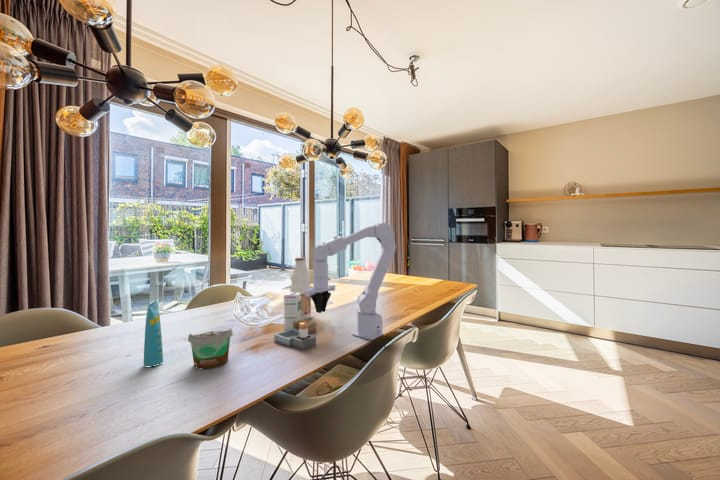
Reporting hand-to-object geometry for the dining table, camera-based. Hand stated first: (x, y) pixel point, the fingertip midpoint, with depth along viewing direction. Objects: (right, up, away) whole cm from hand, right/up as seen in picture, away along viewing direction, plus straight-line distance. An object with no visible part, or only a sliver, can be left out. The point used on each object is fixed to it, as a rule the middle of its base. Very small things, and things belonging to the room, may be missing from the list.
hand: (320, 311), depth 114 cm
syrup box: (-13, -9, +10) cm, 19 cm away
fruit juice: (-13, -9, +25) cm, 29 cm away
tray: (-10, -10, -4) cm, 15 cm away
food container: (-29, -10, -25) cm, 40 cm away
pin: (-5, -10, -9) cm, 14 cm away
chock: (-7, -10, +6) cm, 13 cm away
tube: (-47, -10, -24) cm, 54 cm away
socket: (-5, -10, -9) cm, 14 cm away
